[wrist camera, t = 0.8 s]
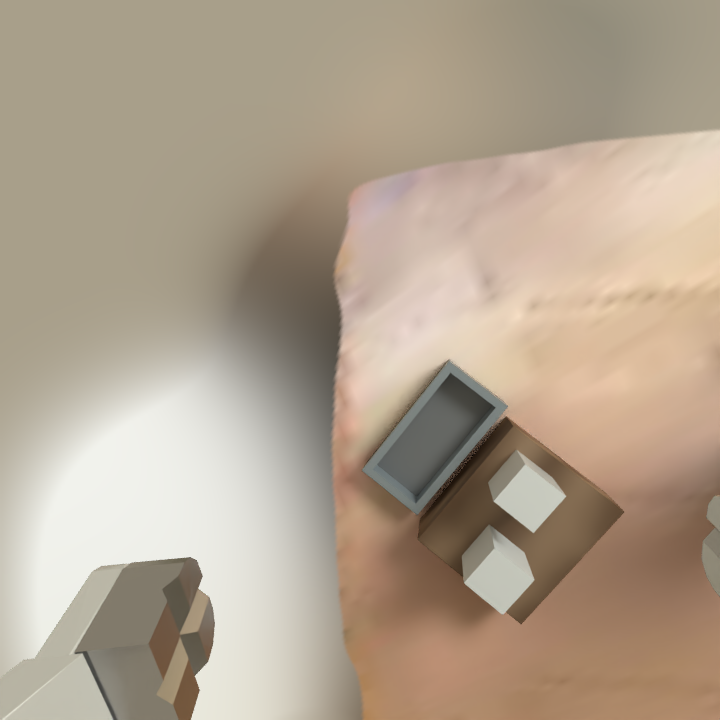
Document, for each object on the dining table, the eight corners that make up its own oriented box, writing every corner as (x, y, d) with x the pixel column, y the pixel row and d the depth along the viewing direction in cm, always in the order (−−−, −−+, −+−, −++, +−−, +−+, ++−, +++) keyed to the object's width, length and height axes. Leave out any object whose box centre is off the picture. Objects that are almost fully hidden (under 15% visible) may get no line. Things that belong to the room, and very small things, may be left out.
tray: (504, 402, 49) (508, 406, 47) (418, 506, 51) (417, 515, 49) (448, 359, 50) (449, 361, 47) (365, 463, 52) (361, 470, 49)
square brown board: (605, 493, 48) (624, 511, 43) (513, 595, 50) (521, 624, 45) (506, 416, 49) (513, 426, 44) (420, 519, 51) (417, 539, 46)
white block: (552, 477, 44) (566, 496, 39) (523, 510, 45) (533, 533, 40) (516, 449, 44) (525, 464, 39) (487, 482, 45) (493, 501, 40)
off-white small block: (524, 552, 45) (534, 580, 40) (496, 584, 45) (502, 615, 41) (489, 524, 45) (494, 548, 40) (461, 555, 46) (463, 583, 41)
